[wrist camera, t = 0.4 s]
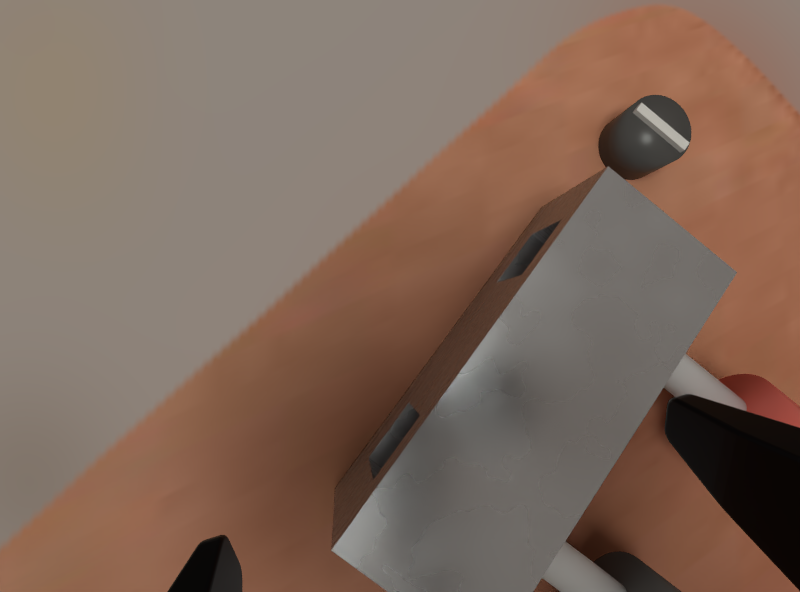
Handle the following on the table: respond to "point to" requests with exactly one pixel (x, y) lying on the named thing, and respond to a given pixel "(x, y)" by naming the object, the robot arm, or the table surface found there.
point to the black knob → (603, 573)
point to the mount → (529, 397)
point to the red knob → (734, 391)
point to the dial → (645, 137)
